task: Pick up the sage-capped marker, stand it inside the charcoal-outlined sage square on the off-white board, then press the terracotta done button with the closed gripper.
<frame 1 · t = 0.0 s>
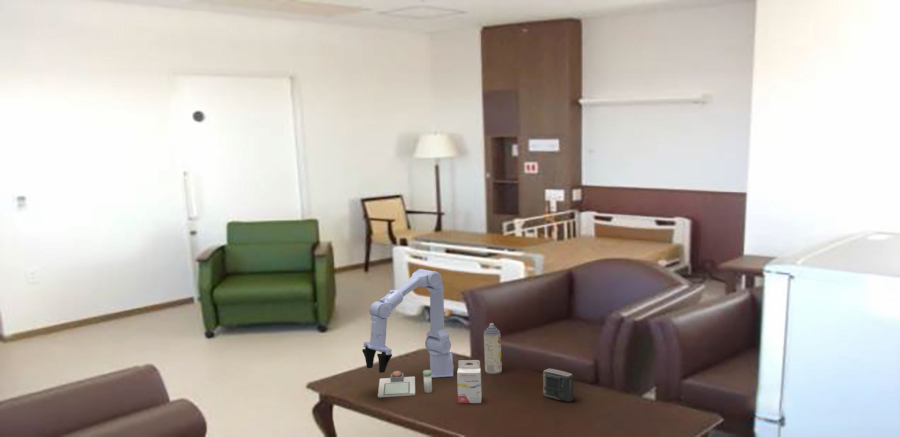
hand: (375, 370, 267), 11 cm above the table, fingers open, 7 cm apart
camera: (558, 398, 260), on the table
marker: (428, 391, 272), on the table
ink cartridge box: (470, 401, 261), on the table
done button: (396, 374, 284), point 3 cm above the table, slide at 0.0 cm
activity board: (397, 387, 278), on the table
aerosol can: (493, 372, 290), on the table
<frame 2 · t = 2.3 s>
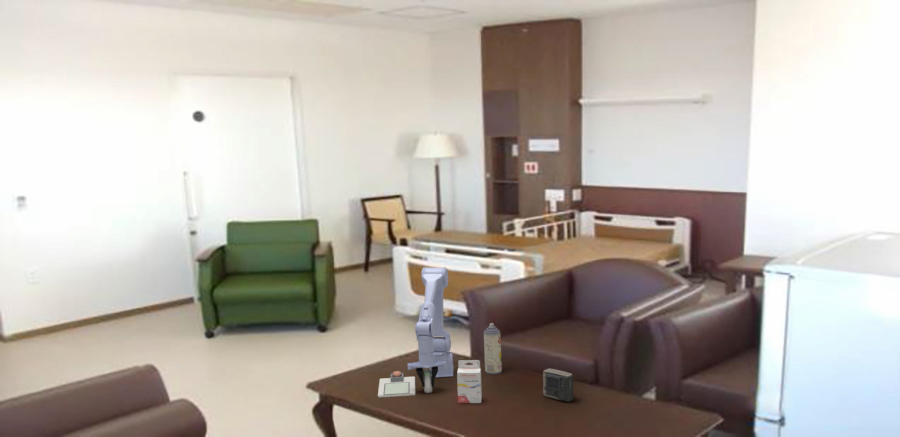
hand: (428, 386, 272), 2 cm above the table, fingers closed on marker, 3 cm apart
marker: (428, 391, 272), on the table, touching gripper
everything else where it was.
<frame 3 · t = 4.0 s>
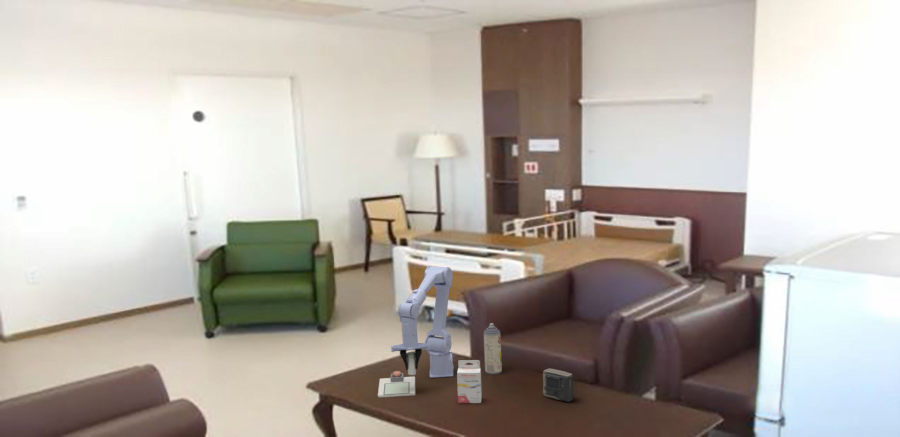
hand: (411, 368, 272), 9 cm above the table, fingers closed on marker, 3 cm apart
marker: (412, 373, 272), point 7 cm above the table, touching gripper
everything else where it was.
when the fingers open (4 cm above the table, at t = 5.7 s): marker stays where it is, resting on activity board.
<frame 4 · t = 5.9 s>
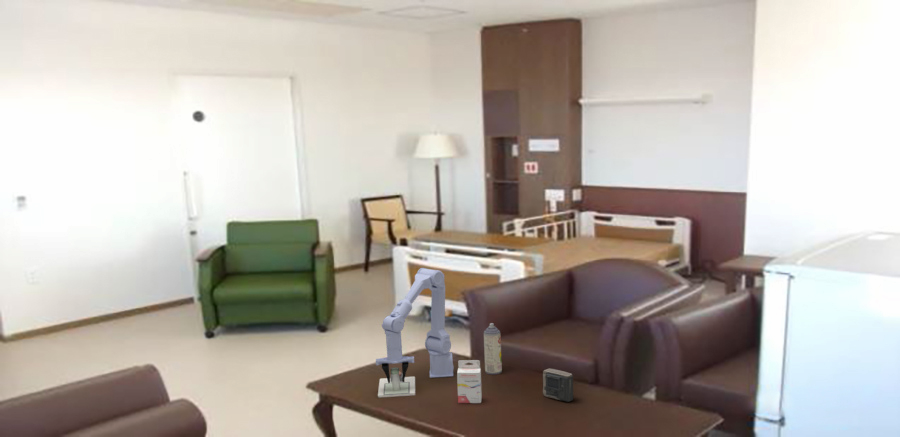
hand: (396, 381, 273), 4 cm above the table, fingers open, 5 cm apart
marker: (396, 389, 273), point 1 cm above the table, touching activity board
everything else where it was.
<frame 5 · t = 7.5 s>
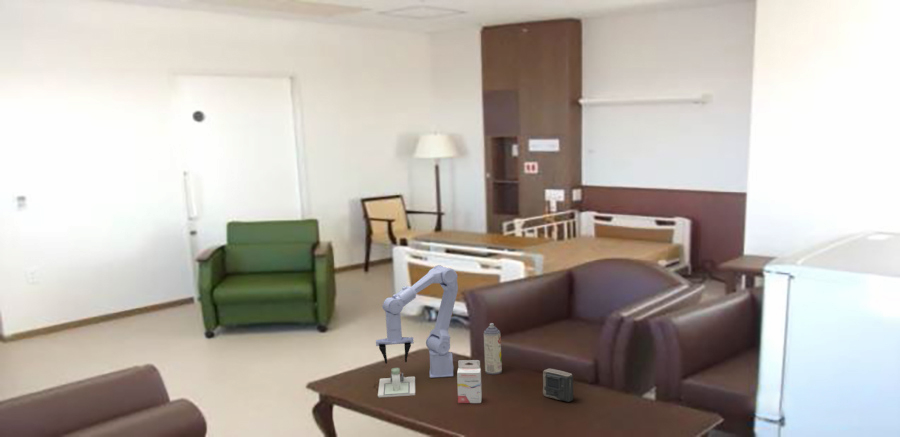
hand: (396, 362, 279), 9 cm above the table, fingers open, 7 cm apart
nothing on the table moved.
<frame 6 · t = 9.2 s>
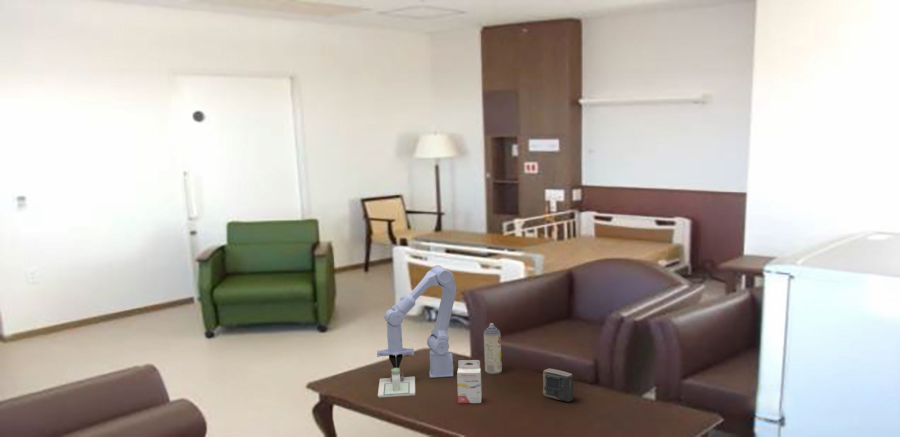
hand: (396, 372, 283), 4 cm above the table, fingers closed, pressing on done button
done button: (396, 375, 284), point 3 cm above the table, slide at 0.2 cm, touching gripper
everything else where it was.
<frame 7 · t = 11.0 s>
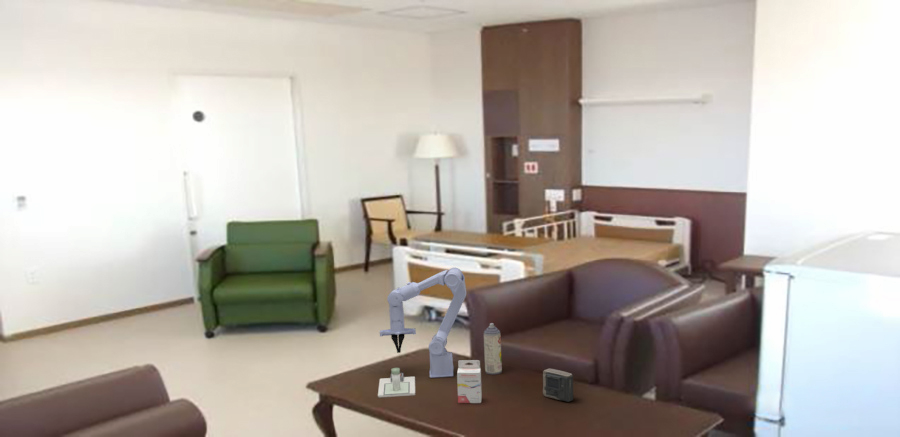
hand: (398, 351, 291), 9 cm above the table, fingers closed
done button: (397, 376, 284), point 2 cm above the table, slide at 0.8 cm
everything else where it was.
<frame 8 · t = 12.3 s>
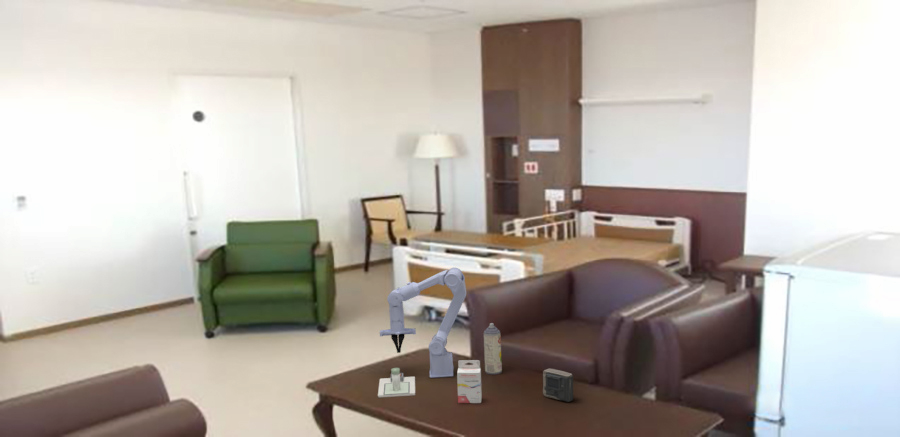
hand: (398, 351, 291), 9 cm above the table, fingers closed
nothing on the table moved.
at the end: marker 0.4 cm from the target spot, point 0.9 cm above the table; marker tilted 0°; done button slide at 0.8 cm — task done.
